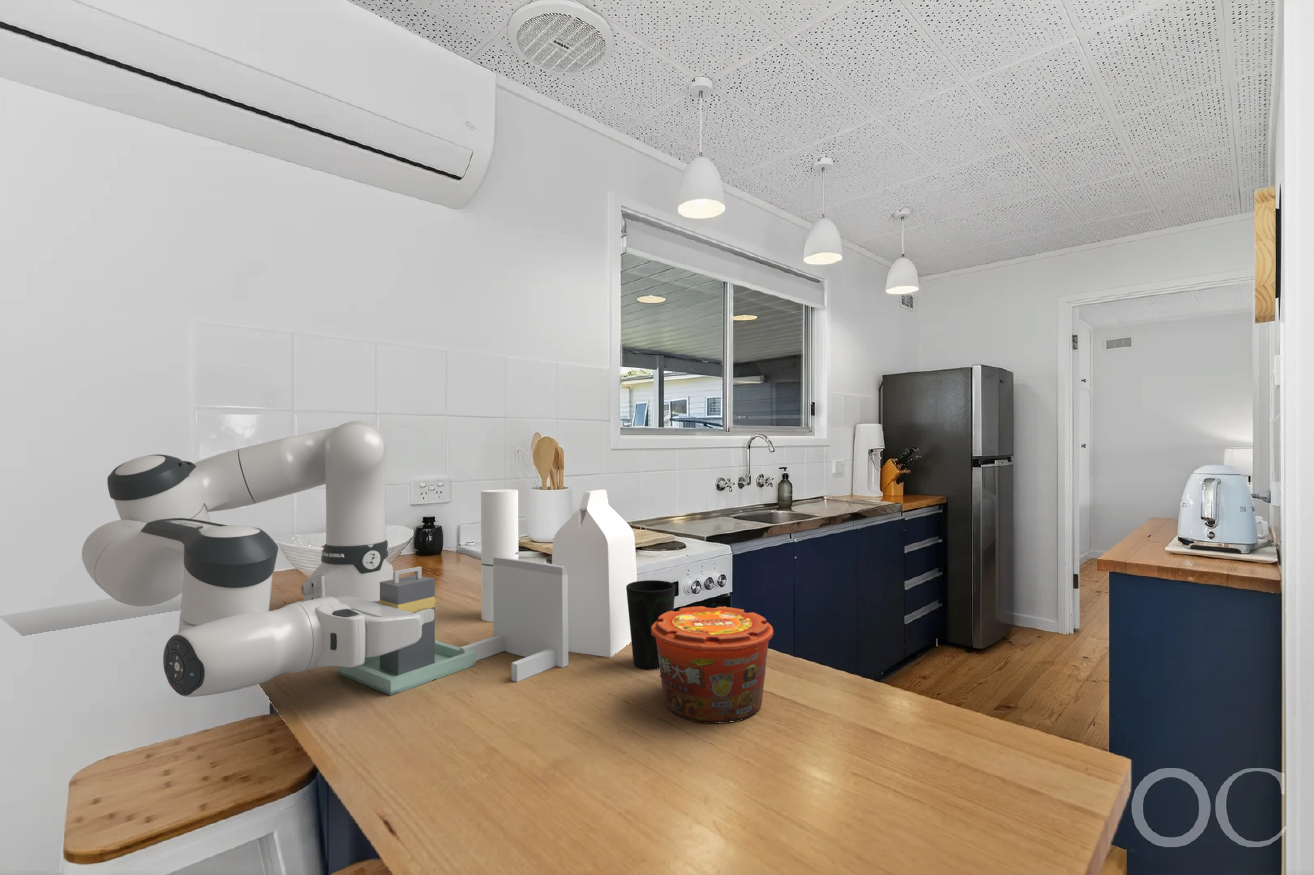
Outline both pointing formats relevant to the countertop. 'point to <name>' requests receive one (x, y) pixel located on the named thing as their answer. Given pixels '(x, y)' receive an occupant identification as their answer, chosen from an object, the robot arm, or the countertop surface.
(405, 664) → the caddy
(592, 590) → the milk
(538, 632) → the dock
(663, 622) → the food container
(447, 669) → the tray
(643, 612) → the cup
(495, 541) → the cylindrical container
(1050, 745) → the countertop surface
